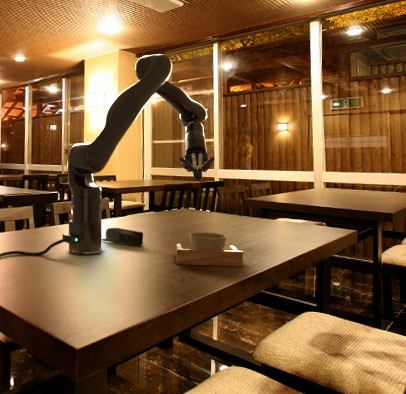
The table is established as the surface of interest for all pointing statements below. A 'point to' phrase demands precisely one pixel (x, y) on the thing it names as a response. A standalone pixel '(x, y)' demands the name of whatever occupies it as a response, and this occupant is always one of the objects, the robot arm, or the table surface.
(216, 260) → the low wooden tray
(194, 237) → the flower pot
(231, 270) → the table surface
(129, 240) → the black rounded block
